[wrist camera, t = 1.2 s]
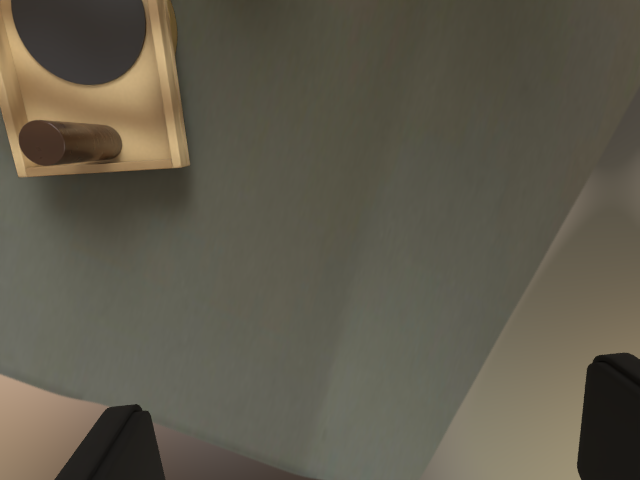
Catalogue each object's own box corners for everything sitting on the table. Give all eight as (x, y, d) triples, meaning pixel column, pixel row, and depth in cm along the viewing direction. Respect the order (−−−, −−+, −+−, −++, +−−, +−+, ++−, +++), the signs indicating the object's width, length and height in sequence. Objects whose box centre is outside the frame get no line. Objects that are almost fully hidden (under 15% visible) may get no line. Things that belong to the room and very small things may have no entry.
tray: (-41, -160, 23) (-204, -303, 16) (143, -166, 23) (71, -307, 16) (40, 174, 28) (-53, 187, 21) (190, 165, 29) (151, 174, 21)
